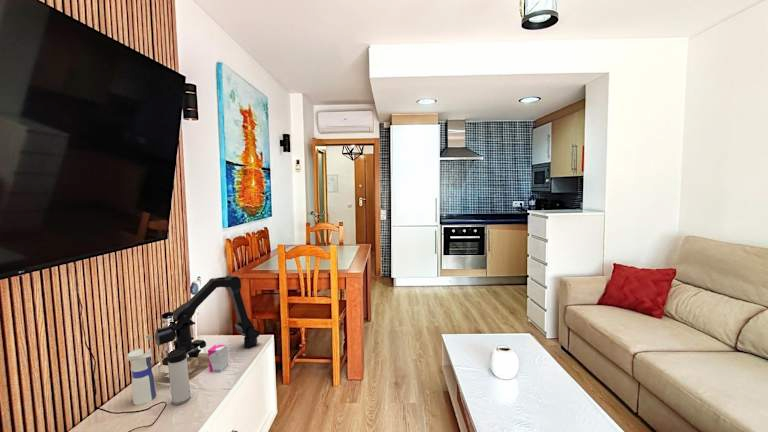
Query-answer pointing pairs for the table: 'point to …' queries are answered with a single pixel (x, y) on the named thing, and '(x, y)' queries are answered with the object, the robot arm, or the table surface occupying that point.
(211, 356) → the supplement box
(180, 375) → the travel mug
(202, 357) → the walnut board
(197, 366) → the sanding block
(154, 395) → the water bottle
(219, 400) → the table surface
